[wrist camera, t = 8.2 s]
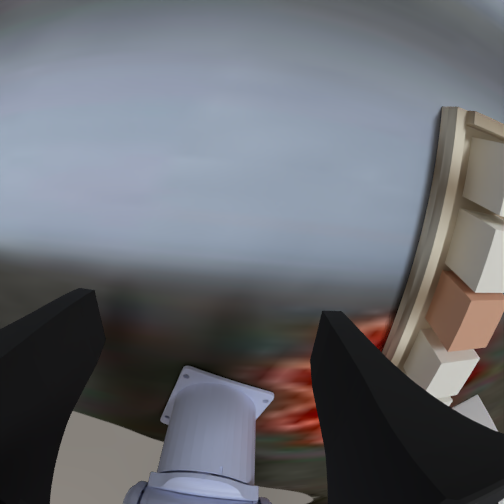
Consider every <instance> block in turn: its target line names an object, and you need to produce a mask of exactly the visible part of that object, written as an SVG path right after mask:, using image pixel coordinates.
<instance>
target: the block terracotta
mask: <svg viewBox="0 0 504 504" xmlns="http://www.w3.org/2000/svg"><path fill="white" fill-rule="evenodd" d="M503 312H504V295H503V294H502V293H475V292H474V291H473V290H472V289H471V288H470V287H469V286H468V285H467V284H466V283H465V282H464V281H463V280H462V279H461V278H460V277H459V276H458V275H456V274H455V273H454V272H453V271H444V270H442V273H441V276H440V279H439V282H438V285H437V287H436V290H435V293H434V296H433V298H432V301H431V304H430V306H429V309H428V311H427V314H426V316H425V319H426V320H427V322H428V323H429V325H430V326H431V327H432V329H433V330H434V332H435V333H436V335H437V336H438V338H439V339H440V341H441V342H442V344H443V345H444V347H445V349H446V350H447V352H452V351H461V350H469V349H476V348H484V347H486V346H487V344H488V342H489V340H490V339H491V337H492V335H493V333H494V331H495V329H496V327H497V325H498V323H499V321H500V318H501V316H502V314H503Z"/></svg>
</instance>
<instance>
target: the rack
mask: <svg viewBox="0 0 504 504" xmlns="http://www.w3.org/2000/svg"><path fill="white" fill-rule="evenodd" d="M472 137H475V138H480V139H485V140H489V141H494V142H499V143H503V144H504V124H502V123H500V122H498V121H496V120H494V119H492V118H490V117H487V116H485V115H483V114H480V113H478V112H476V111H467V110H464V109H462V108H459V107H442V113H441V124H440V133H439V141H438V149H437V156H436V162H435V169H434V174H433V180H432V186H431V191H430V196H429V201H428V206H427V210H426V215H425V219H424V223H423V228H422V232H421V236H420V240H419V243H418V247H417V251H416V254H415V258H414V262H413V265H412V268H411V272H410V275H409V278H408V282H407V285H406V288H405V291H404V294H403V297H402V300H401V303H400V306H399V309H398V311H397V314H396V317H395V320H394V322H393V325H392V328H391V330H390V333H389V336H388V338H387V341H386V343H385V346H384V348H383V351H382V353H383V354H384V355H385V356H386V357H387V358H388V359H389V360H390V361H391V362H392V363H393V364H394V365H395V366H396V367H398V368H399V369H400V370H401V371H402V372H403V373H406V372H405V369H404V367H403V366H404V364H405V362H406V360H407V358H408V356H409V353H410V351H411V349H412V347H413V345H414V342H415V340H416V338H417V336H418V333H419V331H420V329H432V327H431V326H430V325H429V323H428V322H427V320H426V319H425V316H426V314H427V311H428V309H429V306H430V304H431V301H432V298H433V296H434V293H435V290H436V287H437V285H438V282H439V279H440V276H441V273H442V270H444V271H452V270H451V269H450V268H449V267H448V266H447V265H446V264H445V261H446V257H447V254H448V251H449V247H450V244H451V240H452V237H453V233H454V229H455V225H456V221H457V217H458V213H459V209H460V208H463V209H468V210H472V211H477V212H482V213H486V214H491V215H495V216H498V217H500V218H501V219H503V220H504V217H502V216H499V215H497V214H495V213H494V212H492V211H490V210H488V209H486V208H484V207H482V206H480V205H479V204H477V203H475V202H473V201H471V200H469V199H467V198H465V197H463V196H462V195H463V190H464V185H465V180H466V174H467V169H468V162H469V156H470V149H471V141H472Z"/></svg>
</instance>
